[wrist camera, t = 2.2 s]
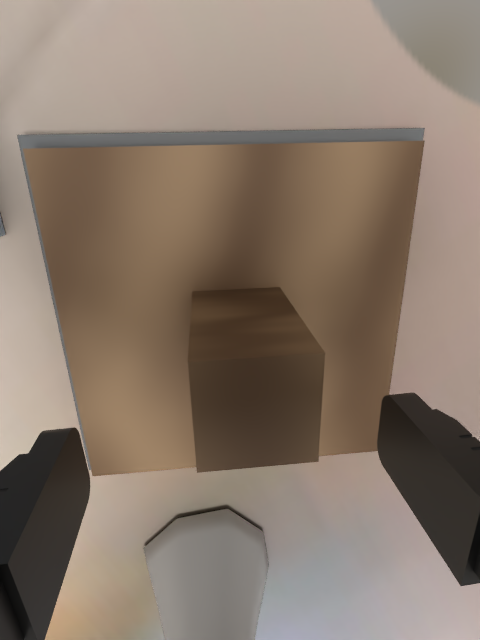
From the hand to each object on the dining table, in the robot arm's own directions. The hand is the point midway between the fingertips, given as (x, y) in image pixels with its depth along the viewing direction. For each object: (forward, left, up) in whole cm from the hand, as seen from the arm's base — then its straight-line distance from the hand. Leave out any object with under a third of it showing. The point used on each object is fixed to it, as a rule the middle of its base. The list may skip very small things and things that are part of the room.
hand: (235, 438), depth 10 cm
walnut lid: (-1, 0, -7) cm, 7 cm away
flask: (+1, +15, -8) cm, 17 cm away
